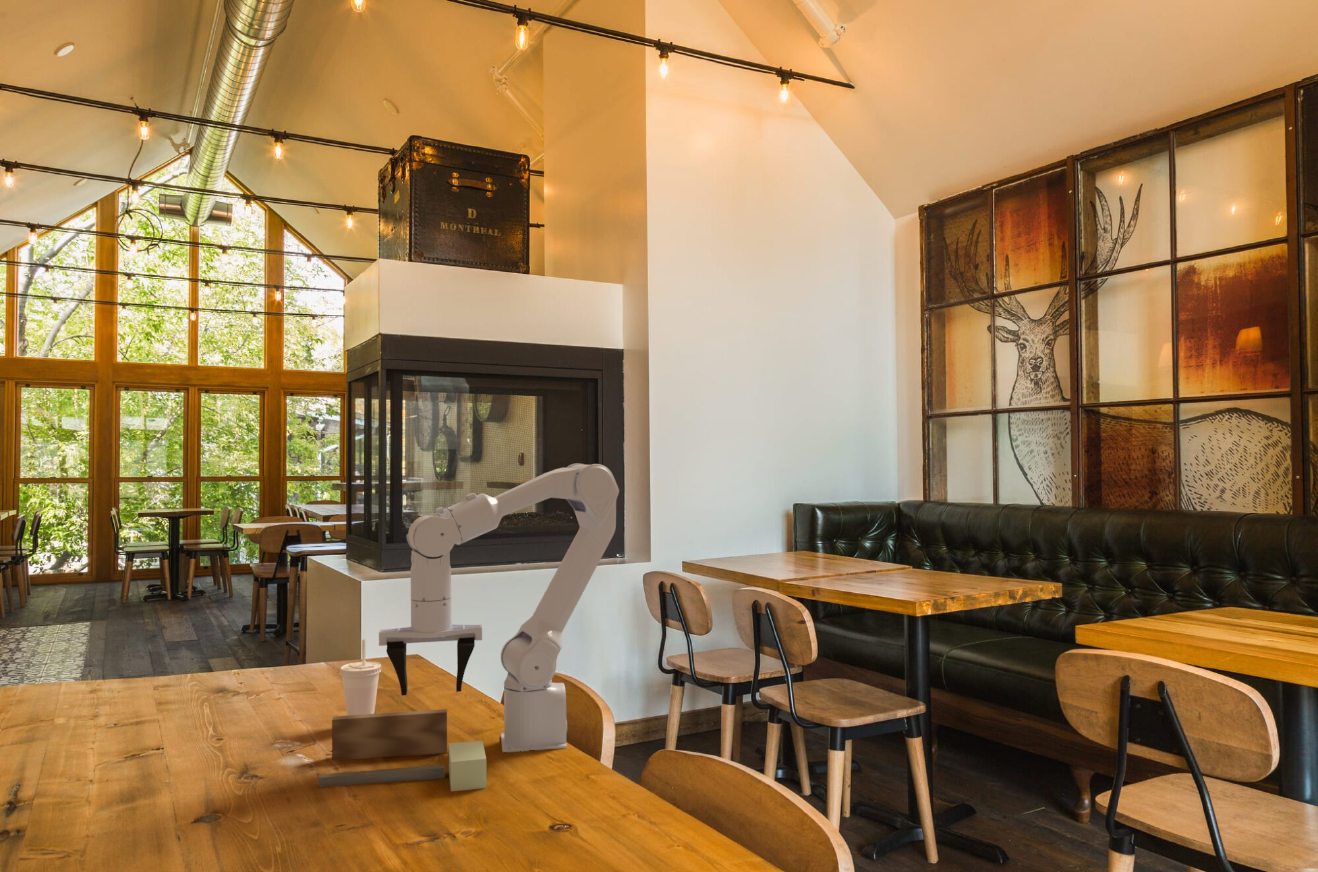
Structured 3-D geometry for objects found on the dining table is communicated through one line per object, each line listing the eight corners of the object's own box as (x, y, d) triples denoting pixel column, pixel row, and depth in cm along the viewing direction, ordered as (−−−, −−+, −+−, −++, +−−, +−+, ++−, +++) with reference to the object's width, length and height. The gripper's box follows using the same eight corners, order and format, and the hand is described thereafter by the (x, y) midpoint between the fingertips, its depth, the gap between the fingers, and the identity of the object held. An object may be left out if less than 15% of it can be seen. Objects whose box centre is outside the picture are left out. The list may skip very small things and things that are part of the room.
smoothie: (368, 733, 139) (368, 644, 139) (331, 731, 140) (331, 642, 141) (388, 721, 145) (388, 635, 146) (353, 719, 147) (353, 634, 147)
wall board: (447, 749, 131) (447, 709, 131) (446, 753, 130) (446, 712, 130) (333, 758, 128) (333, 716, 128) (332, 761, 126) (332, 719, 127)
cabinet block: (482, 773, 122) (482, 740, 122) (486, 793, 115) (486, 758, 115) (448, 776, 121) (448, 743, 121) (451, 797, 114) (450, 762, 114)
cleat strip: (444, 777, 120) (444, 764, 120) (444, 781, 119) (444, 767, 119) (320, 788, 117) (320, 774, 117) (318, 791, 116) (318, 777, 116)
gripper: (481, 591, 134) (482, 681, 134) (381, 596, 131) (382, 687, 131) (482, 599, 127) (482, 693, 127) (377, 604, 124) (377, 701, 124)
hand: (431, 691), depth 129 cm, fingers open, 7 cm apart
